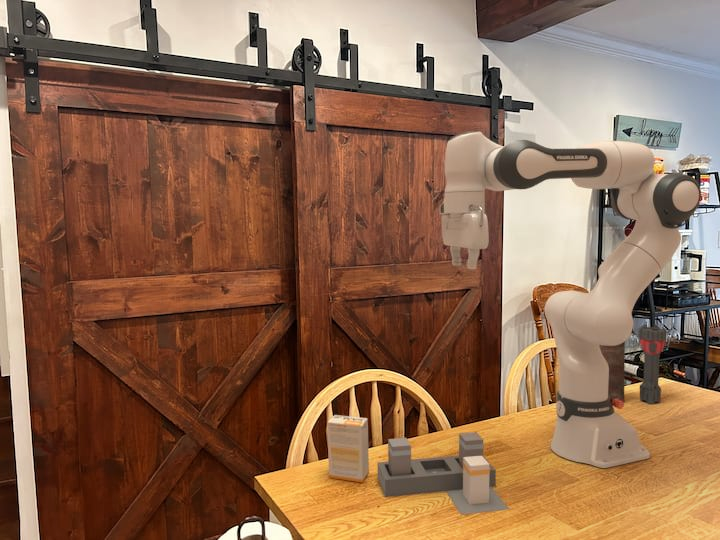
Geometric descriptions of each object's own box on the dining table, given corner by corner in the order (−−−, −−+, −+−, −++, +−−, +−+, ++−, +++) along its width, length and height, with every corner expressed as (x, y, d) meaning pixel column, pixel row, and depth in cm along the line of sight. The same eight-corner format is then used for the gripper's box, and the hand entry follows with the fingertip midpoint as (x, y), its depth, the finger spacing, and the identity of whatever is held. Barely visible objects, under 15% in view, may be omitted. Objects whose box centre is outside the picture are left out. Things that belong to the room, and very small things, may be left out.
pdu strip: (480, 470, 120) (481, 453, 120) (495, 487, 112) (495, 469, 112) (377, 479, 116) (377, 462, 116) (385, 498, 109) (385, 479, 108)
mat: (489, 485, 113) (489, 484, 113) (509, 511, 103) (509, 509, 103) (444, 490, 112) (444, 488, 112) (460, 516, 102) (460, 514, 102)
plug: (481, 492, 110) (481, 455, 109) (489, 502, 106) (489, 464, 105) (462, 494, 109) (462, 457, 108) (469, 504, 105) (470, 466, 104)
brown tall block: (601, 403, 163) (603, 339, 161) (594, 395, 170) (596, 334, 168) (627, 404, 162) (629, 340, 160) (619, 396, 169) (622, 335, 167)
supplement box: (369, 473, 119) (369, 417, 118) (362, 483, 115) (362, 425, 114) (335, 468, 122) (334, 413, 121) (327, 478, 117) (326, 421, 116)
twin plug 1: (406, 472, 115) (406, 437, 114) (411, 482, 111) (411, 445, 110) (388, 474, 115) (387, 439, 114) (392, 483, 111) (392, 447, 110)
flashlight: (648, 394, 171) (651, 324, 168) (669, 401, 163) (672, 329, 161) (629, 396, 168) (632, 326, 166) (650, 404, 161) (653, 331, 159)
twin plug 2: (476, 466, 118) (476, 432, 117) (483, 475, 114) (483, 439, 113) (458, 468, 117) (458, 433, 116) (465, 476, 113) (465, 441, 112)
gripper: (496, 204, 108) (496, 271, 110) (462, 206, 128) (461, 263, 130) (467, 204, 107) (467, 272, 109) (437, 207, 127) (437, 264, 129)
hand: (463, 267), depth 119 cm, fingers open, 8 cm apart
